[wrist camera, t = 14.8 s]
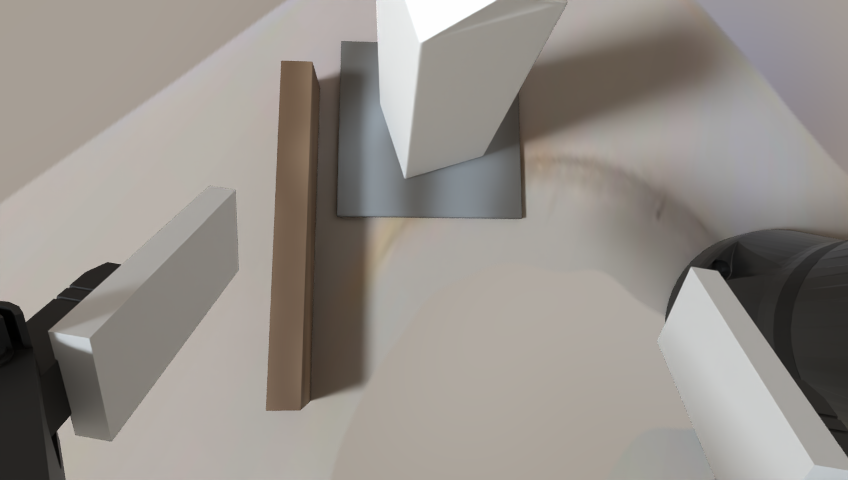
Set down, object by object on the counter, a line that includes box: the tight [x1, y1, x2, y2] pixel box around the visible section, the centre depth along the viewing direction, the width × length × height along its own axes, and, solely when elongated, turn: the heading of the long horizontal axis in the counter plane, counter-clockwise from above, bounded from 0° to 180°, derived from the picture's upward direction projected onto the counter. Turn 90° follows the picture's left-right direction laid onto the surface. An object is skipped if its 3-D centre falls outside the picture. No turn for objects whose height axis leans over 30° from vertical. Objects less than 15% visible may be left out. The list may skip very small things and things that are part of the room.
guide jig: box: [266, 41, 522, 411], centre depth 37 cm, size 16×26×4 cm, turn 0°
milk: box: [376, 0, 567, 179], centre depth 28 cm, size 6×6×22 cm
